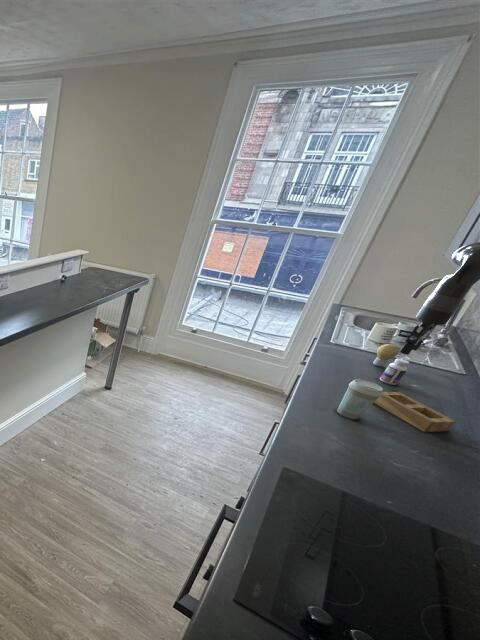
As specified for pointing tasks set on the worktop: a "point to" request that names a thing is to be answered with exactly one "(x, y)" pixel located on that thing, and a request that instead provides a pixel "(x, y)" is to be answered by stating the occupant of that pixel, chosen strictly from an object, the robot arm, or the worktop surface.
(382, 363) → the light bulb
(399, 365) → the pill bottle
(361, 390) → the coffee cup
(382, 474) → the worktop surface
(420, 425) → the tray
